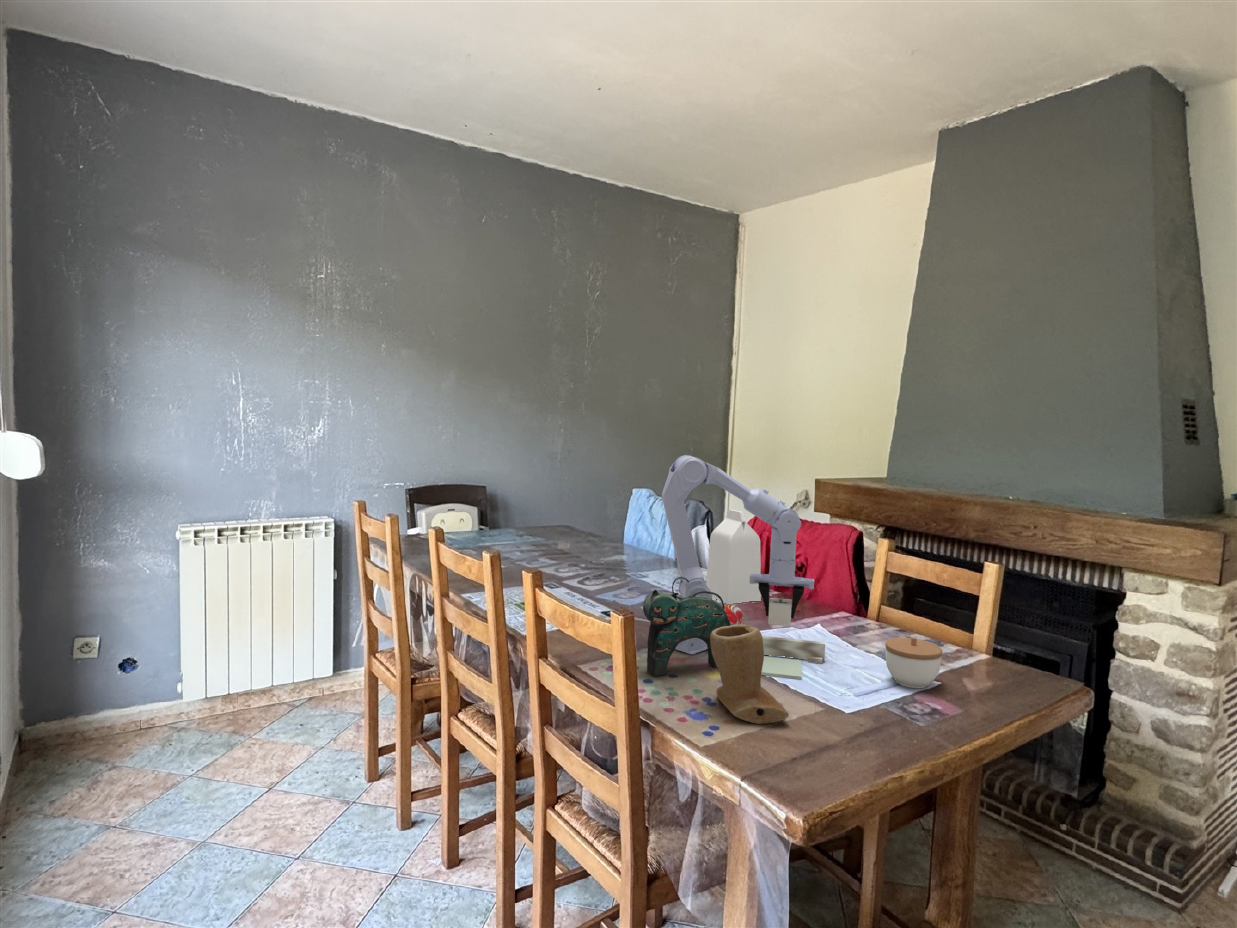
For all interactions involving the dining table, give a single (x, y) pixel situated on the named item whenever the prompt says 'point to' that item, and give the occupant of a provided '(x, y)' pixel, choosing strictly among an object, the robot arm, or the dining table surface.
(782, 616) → the marked cube
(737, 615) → the soda can
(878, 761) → the dining table surface
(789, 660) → the pad
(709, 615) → the ceramic cat
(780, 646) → the beige wooden bar
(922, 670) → the lidded jar
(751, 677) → the clay boot
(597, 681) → the dining table surface
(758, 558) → the milk
